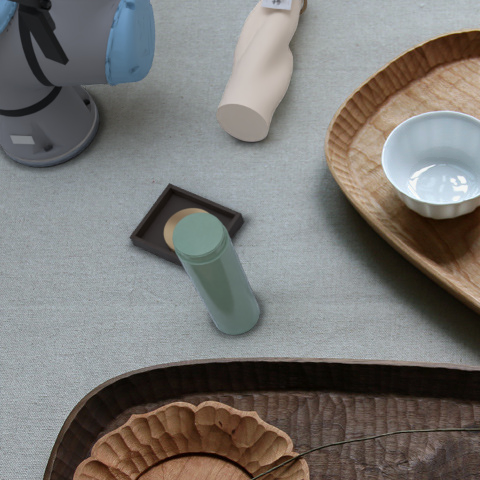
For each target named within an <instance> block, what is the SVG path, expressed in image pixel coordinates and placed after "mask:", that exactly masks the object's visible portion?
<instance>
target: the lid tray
mask: <svg viewBox="0 0 480 480" xmlns="http://www.w3.org/2000/svg"><path fill="white" fill-rule="evenodd" d="M189 208H198V209H202V210H204V211H206V212H208V213H209V214H211V215H213V216H215V217H216V218H218V220H219V221H220V222H221V223H222V224H223V225H224V226H225V228H226V229H227V231H228V234H229V236H230V238H231V241H233V239H234V237H235V236H236V234H237V233H238V231H239V230H240V229H241V227H242V226H243V224H244V223H245V220H244V216H243V214H242V213H241V212H239V211H237V210H234V209H232V208H229V207H227V206H226V205H223V204H220V203H218V202H215V201H213V200H210V199H208V198H205V197H203V196H201V195H199V194H197V193H193V192H192V191H189V190H187V189H184V188H182V187H180V186H177V185H174V184H172V183H168V184H167V185H166V186H165V188H164V190H163V191H162V192H161V193H160V195H159V196H158V197H157V199H156V200H155V202H154V203H153V204H152V206H151V207H150V208H149V209H148V211H147V212H146V214H144V216H143V218H142V219H141V221H140V222H139V223H138V225H136V227H135V229H134V230H133V231H132V232H131V234H130V235H129V237H128V238H129V239H130V241H131V243H132V244H133V246H135V247H137V248H139V249H142V250H144V251H146V252H148V253H150V254H153V255H155V256H157V257H159V258H162V259H164V260H166V261H169V262H171V263H173V264H175V265H178V266H180V267H182V268H184V267H183V265H182V263H181V261H180V260H179V258H178V256H177V254H175V253H173V252H171V250H170V249H169V247H168V246H167V244H166V241H165V238H164V228H165V225H166V223H167V221H168V220H169V219H170V218H171V217H172V216H173V215H174V214H176V213H177V212H179V211H181V210H184V209H189Z"/></svg>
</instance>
